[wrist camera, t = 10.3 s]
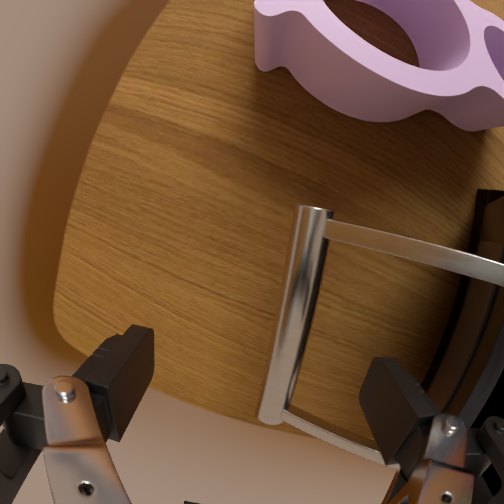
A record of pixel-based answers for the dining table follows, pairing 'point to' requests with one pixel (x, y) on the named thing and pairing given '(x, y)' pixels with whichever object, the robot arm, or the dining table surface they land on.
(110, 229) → the dining table surface
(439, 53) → the clip
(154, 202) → the dining table surface
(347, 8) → the dining table surface
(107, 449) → the robot arm
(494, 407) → the oven
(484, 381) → the oven door
